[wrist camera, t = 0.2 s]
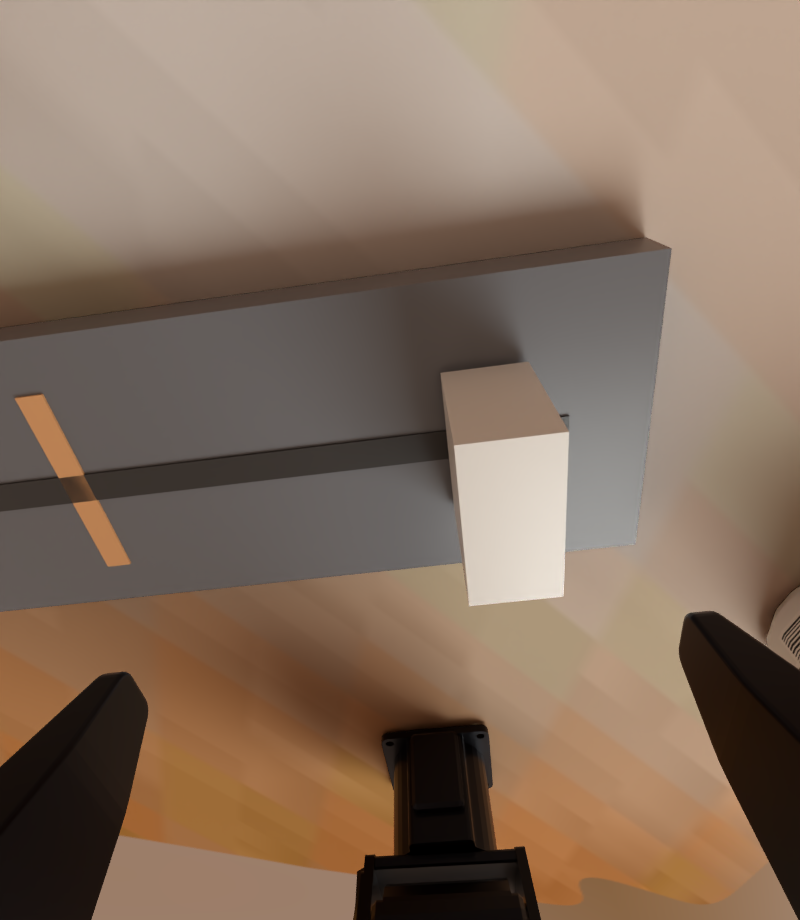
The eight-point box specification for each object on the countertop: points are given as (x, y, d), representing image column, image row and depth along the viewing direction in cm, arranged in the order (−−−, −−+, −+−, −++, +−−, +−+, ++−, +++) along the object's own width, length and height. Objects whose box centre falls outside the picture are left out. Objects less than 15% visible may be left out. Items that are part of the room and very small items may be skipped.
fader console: (618, 515, 25) (636, 545, 23) (-3, 583, 27) (-32, 616, 25) (645, 237, 18) (672, 248, 17) (-168, 351, 20) (-222, 372, 19)
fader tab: (529, 503, 21) (563, 596, 17) (454, 511, 22) (469, 606, 17) (528, 361, 18) (569, 431, 14) (440, 373, 19) (454, 445, 14)
